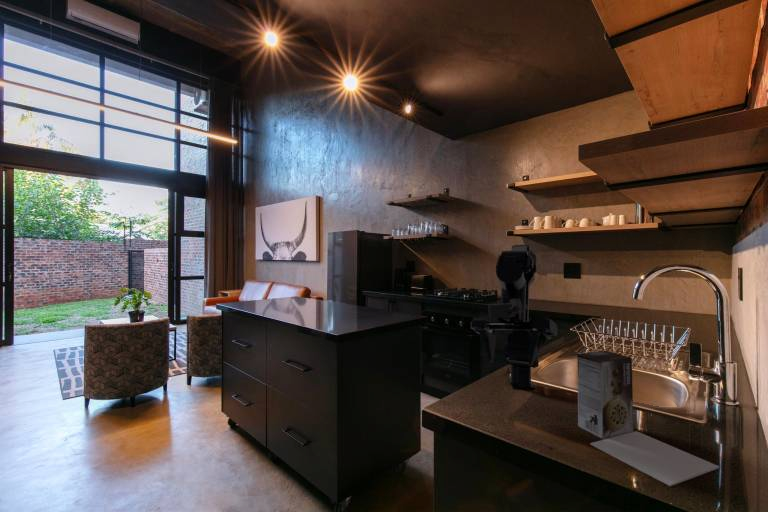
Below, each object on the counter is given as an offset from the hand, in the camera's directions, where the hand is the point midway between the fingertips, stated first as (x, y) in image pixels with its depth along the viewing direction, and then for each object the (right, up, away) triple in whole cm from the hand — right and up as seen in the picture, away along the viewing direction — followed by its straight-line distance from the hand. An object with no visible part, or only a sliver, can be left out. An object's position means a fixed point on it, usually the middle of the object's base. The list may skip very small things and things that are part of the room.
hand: (510, 363), depth 79 cm
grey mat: (+22, -13, -14) cm, 29 cm away
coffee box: (+19, -14, -3) cm, 24 cm away
